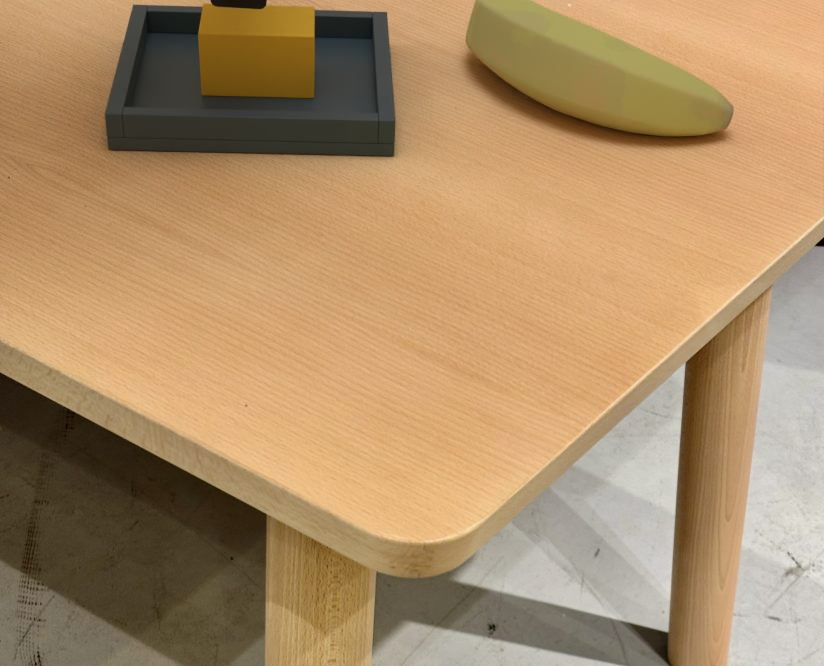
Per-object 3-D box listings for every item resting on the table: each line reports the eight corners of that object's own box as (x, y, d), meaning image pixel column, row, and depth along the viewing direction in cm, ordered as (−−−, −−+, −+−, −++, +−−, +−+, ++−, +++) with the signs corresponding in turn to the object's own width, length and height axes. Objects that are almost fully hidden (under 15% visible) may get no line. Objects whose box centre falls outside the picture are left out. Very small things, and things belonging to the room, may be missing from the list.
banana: (561, 38, 79) (448, -46, 95) (532, 131, 82) (426, 34, 97) (756, 79, 85) (618, -7, 100) (722, 165, 87) (594, 68, 103)
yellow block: (201, 95, 86) (197, 33, 83) (206, 63, 90) (203, 3, 87) (314, 98, 87) (314, 36, 84) (314, 66, 90) (314, 6, 87)
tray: (108, 150, 82) (104, 113, 80) (136, 37, 94) (133, 4, 92) (394, 156, 83) (395, 120, 82) (385, 44, 95) (387, 11, 93)
